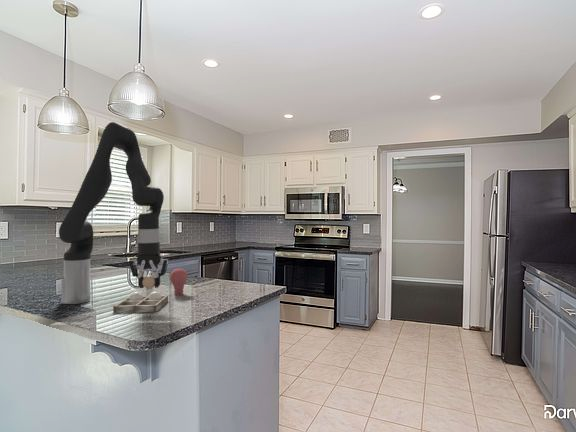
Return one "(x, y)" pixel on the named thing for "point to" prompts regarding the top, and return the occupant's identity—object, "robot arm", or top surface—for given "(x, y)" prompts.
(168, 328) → the top surface
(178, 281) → the light bulb
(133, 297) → the white egg back left
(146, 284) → the beige ball
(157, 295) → the white egg back right
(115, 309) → the divided tray
